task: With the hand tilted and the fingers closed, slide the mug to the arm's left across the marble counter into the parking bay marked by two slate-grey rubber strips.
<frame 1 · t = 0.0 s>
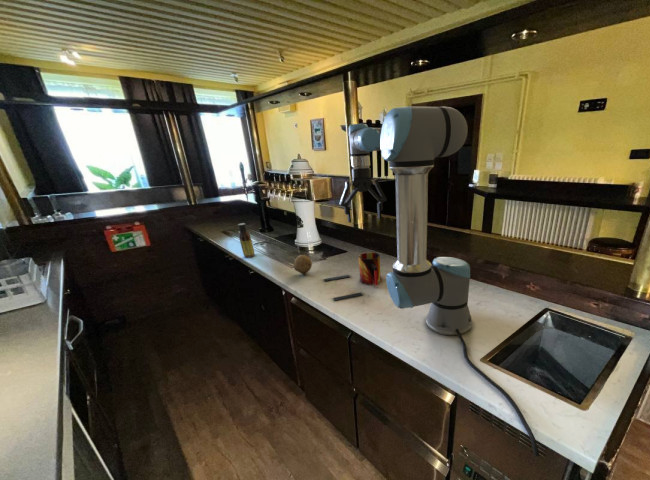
hand: (364, 220, 131), 28 cm above the worktop, tool pointing down, fingers open, 13 cm apart
mug: (373, 281, 140), on the worktop
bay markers: (342, 287, 136), on the worktop
sauce bottle: (249, 256, 183), on the worktop
natural sponge: (304, 274, 152), on the worktop
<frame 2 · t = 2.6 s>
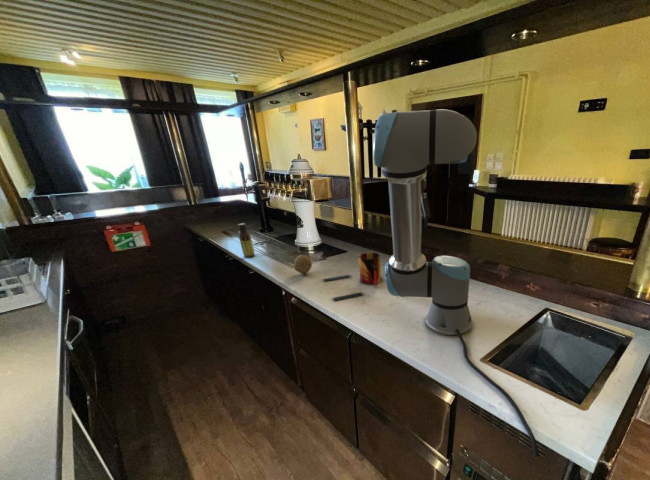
hand: (416, 230, 131), 23 cm above the worktop, tool pointing down, fingers open, 13 cm apart
nothing on the worktop moved.
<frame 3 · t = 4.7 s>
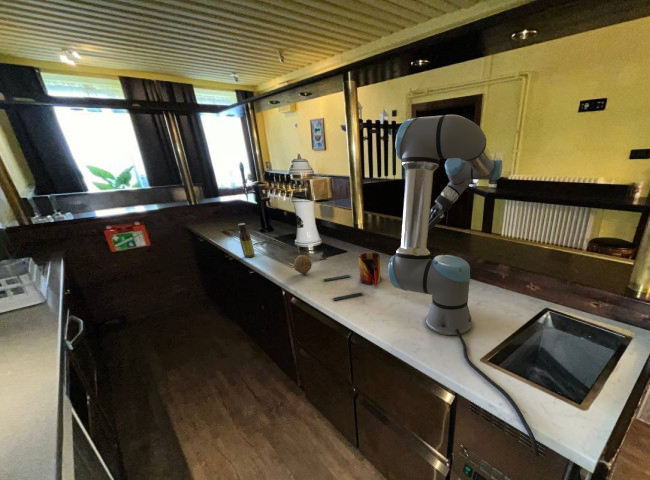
hand: (413, 241, 139), 16 cm above the worktop, tool tilted 45°, fingers closed
nothing on the worktop moved.
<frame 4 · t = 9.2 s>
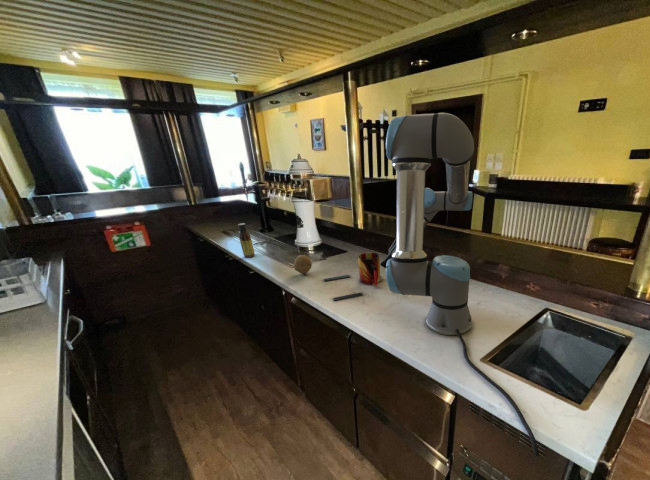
hand: (382, 266, 139), 7 cm above the worktop, tool tilted 45°, fingers closed
mug: (373, 281, 140), on the worktop, touching gripper
everything else where it was.
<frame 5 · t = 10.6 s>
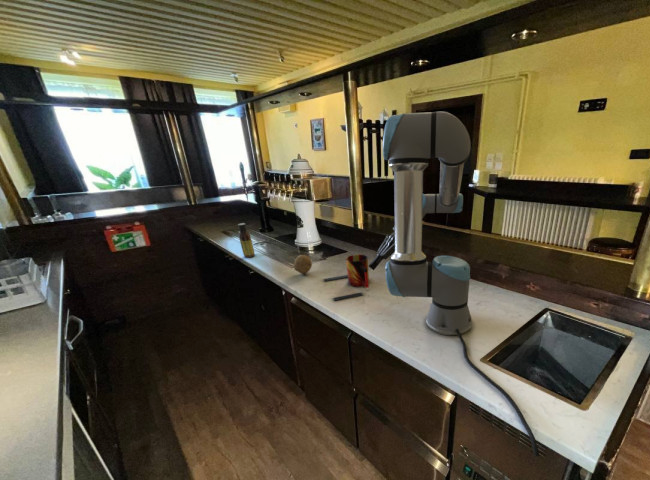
hand: (371, 268, 137), 7 cm above the worktop, tool tilted 45°, fingers closed
mug: (362, 283, 138), on the worktop, touching gripper
everything else where it was.
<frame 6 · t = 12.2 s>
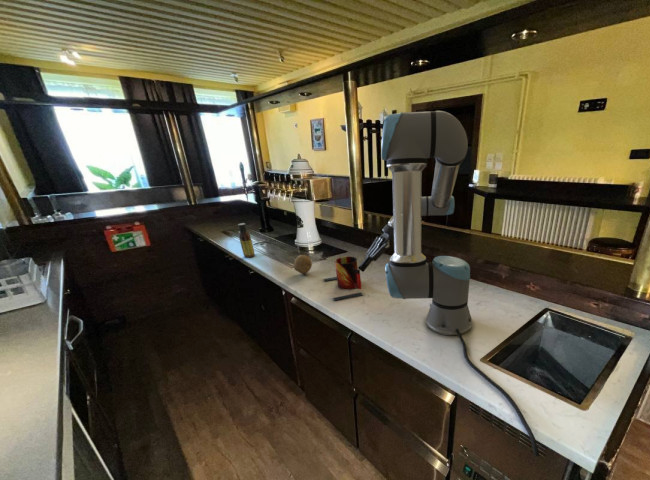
hand: (360, 269, 136), 7 cm above the worktop, tool tilted 45°, fingers closed
mug: (352, 286, 137), on the worktop, touching gripper
everything else where it was.
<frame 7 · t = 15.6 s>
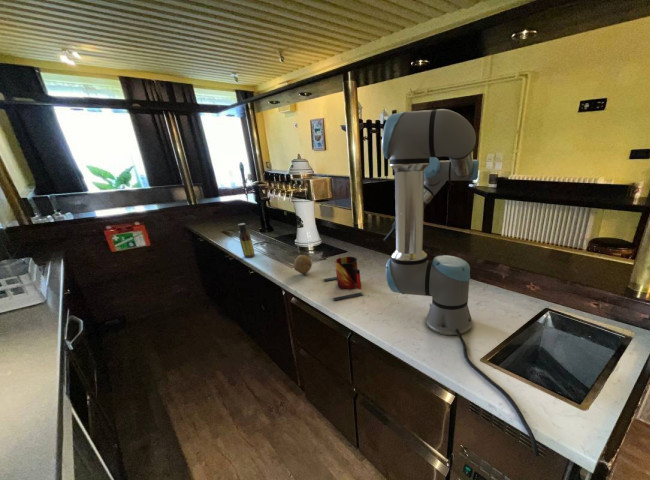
hand: (386, 241, 134), 18 cm above the worktop, tool tilted 45°, fingers closed
mug: (352, 286, 137), on the worktop
everything else where it was.
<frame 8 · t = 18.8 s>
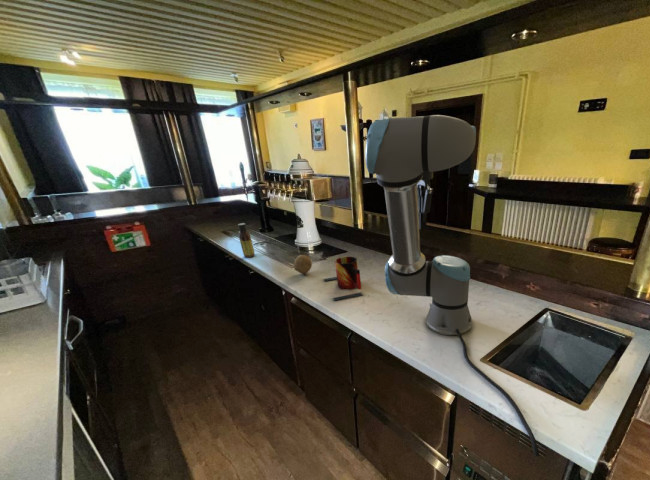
hand: (422, 228, 127), 24 cm above the worktop, tool pointing down, fingers closed
nothing on the worktop moved.
at the end: mug inside the target area (3.9 cm from its centre), on the worktop; mug tilted 0°; mug moved 10.4 cm from its start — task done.
